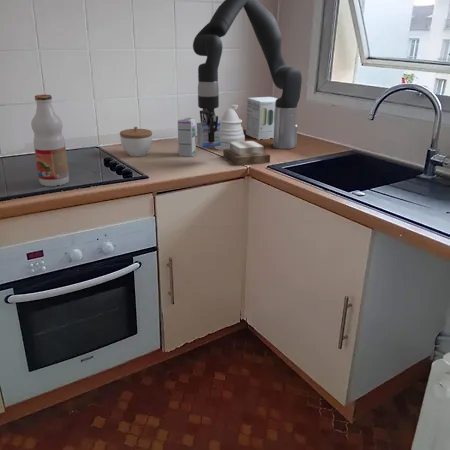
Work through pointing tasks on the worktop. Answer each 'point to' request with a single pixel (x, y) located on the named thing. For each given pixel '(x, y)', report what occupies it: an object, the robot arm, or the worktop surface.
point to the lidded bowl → (136, 141)
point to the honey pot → (230, 129)
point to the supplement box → (260, 117)
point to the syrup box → (186, 137)
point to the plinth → (246, 158)
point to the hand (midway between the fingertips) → (208, 140)
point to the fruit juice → (49, 144)
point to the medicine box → (203, 135)
